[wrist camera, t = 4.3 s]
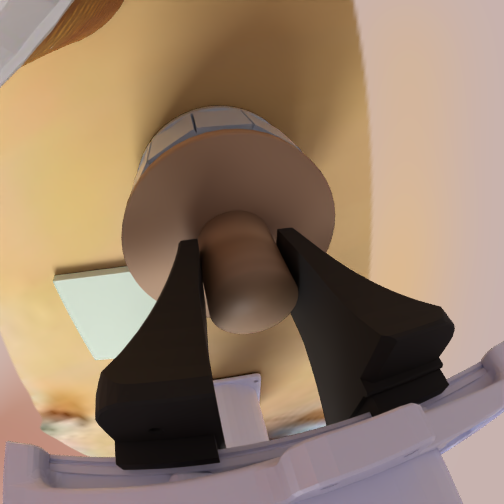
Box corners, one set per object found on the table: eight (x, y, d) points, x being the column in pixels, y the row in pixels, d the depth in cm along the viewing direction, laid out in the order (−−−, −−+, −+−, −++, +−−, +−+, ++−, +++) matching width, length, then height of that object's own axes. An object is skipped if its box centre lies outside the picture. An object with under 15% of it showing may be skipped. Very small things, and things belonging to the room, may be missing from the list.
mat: (197, 344, 26) (197, 349, 25) (95, 354, 24) (95, 360, 24) (181, 259, 20) (182, 265, 20) (54, 275, 18) (52, 281, 18)
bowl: (287, 238, 21) (308, 278, 18) (150, 255, 19) (149, 300, 16) (296, 103, 16) (328, 121, 13) (127, 116, 14) (113, 137, 11)
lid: (306, 296, 17) (337, 358, 14) (137, 312, 15) (139, 386, 12) (346, 135, 12) (410, 180, 9) (112, 133, 10) (86, 184, 7)
